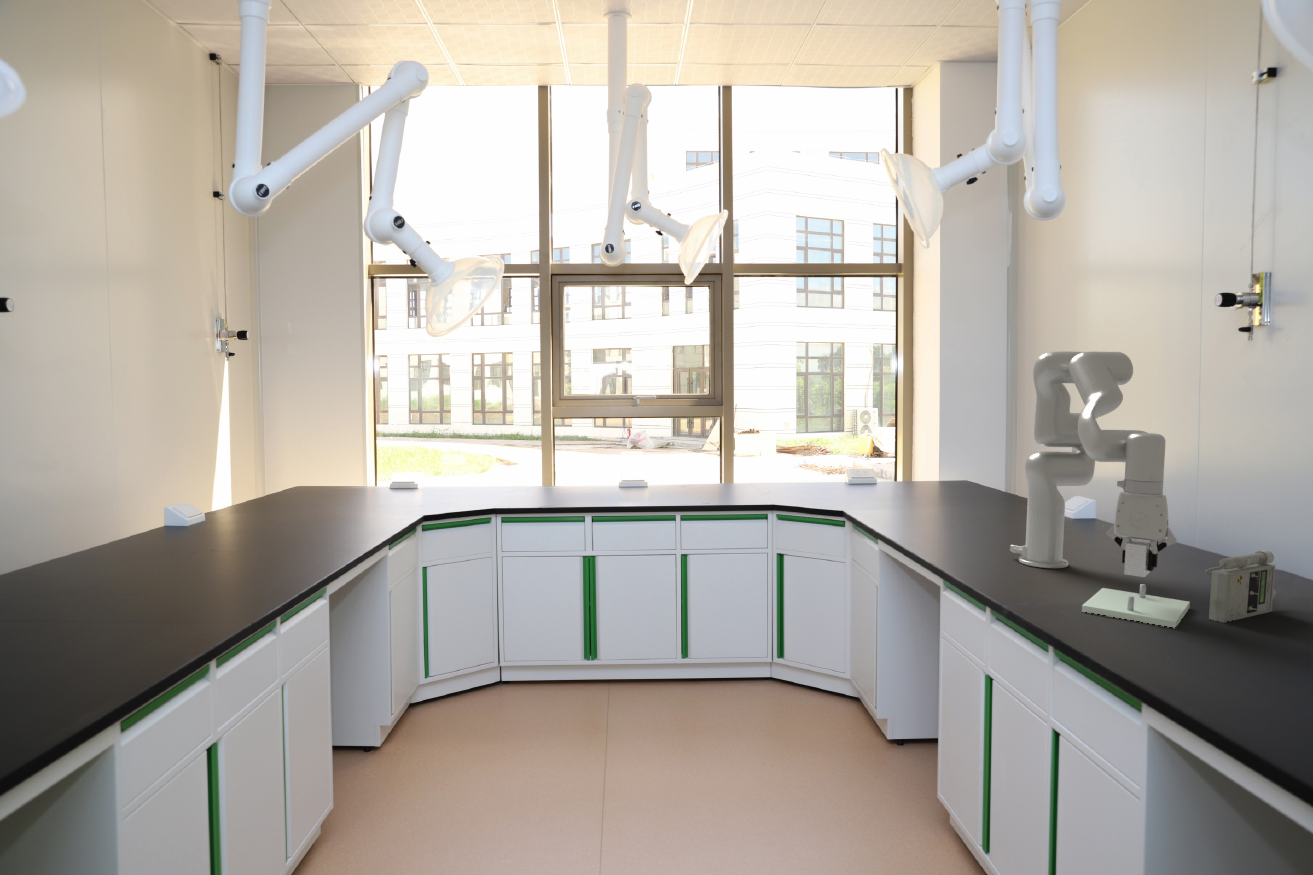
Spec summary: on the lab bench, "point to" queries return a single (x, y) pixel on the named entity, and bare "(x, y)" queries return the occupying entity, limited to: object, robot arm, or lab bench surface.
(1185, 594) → the lab bench surface
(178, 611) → the lab bench surface
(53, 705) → the lab bench surface
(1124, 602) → the pin plate
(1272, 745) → the lab bench surface
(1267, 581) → the geiger counter
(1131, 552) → the block
